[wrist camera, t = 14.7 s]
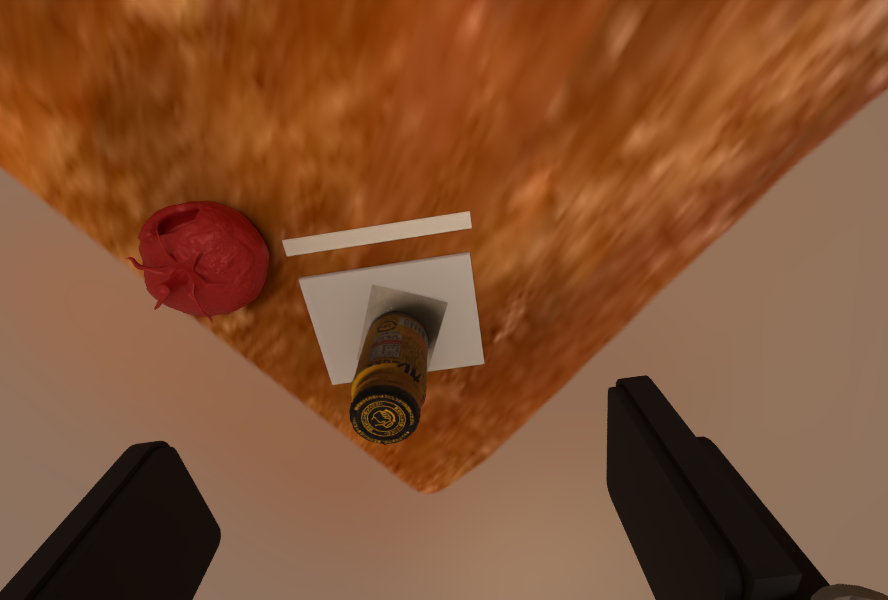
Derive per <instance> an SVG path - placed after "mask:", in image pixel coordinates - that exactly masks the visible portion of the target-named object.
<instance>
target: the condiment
mask: <svg viewBox="0 0 888 600" xmlns="http://www.w3.org/2000/svg"><path fill="white" fill-rule="evenodd" d="M447 304H448V303H447V302H444V301H439V300H437V299H432V298H429V297H424V296H421V295H416V294H412V293H407V292H405V291H398V290H393V289H390V288H386V287H380V286H376V285H372V288H371V292H370V298H369V302H368V308H367V312H366V317H365V322H364V327H363V332H362V337H361V342H360V347H359V352H358V356H357V360H359V361H358V366H357V369H356V373H355V376H354V378H353V381H352V387H351V396H352V403H351V406H350V412H349V413H350V421H351V423H352V425H353V429H354V430H355V431H356V432H357V433H358V434H359V435H360V436H362V437H363V438H365V439H367V440H369V441H371V442H376V443H381V444H384V445H386V444H389V443H397V442H399V441H402V440H404V439H407V438H408V437H409V436H410V435H411V434H412V433H413V432H414V431H415V430H416V428H417V425H418V423H419V418H420V410H421V407H422V406H423V404H424V401H425V397H426V381H427V372H428V369H429V365H430V361H431V358H432V355H433V351H434V348H435V344H436V341H437V338H438V335H439V331H440V328H441V324H442V321H443V317H444V314H445V311H446V307H447ZM387 310H388V311H387Z"/></svg>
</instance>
